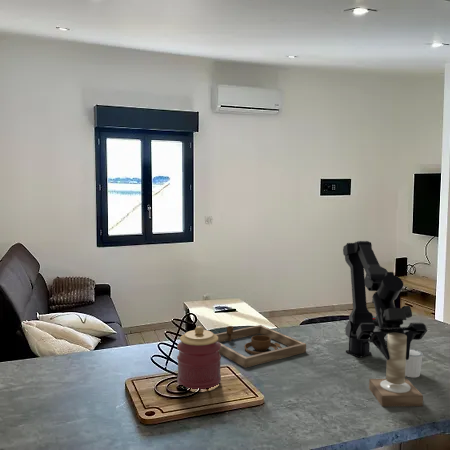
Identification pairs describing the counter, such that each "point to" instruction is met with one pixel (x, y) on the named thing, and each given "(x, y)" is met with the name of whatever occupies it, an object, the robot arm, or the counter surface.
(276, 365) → the counter surface
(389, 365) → the birch pillar
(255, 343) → the place setting
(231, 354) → the oak tray rim
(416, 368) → the white short cylinder
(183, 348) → the canister
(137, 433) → the counter surface
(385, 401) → the walnut plinth
